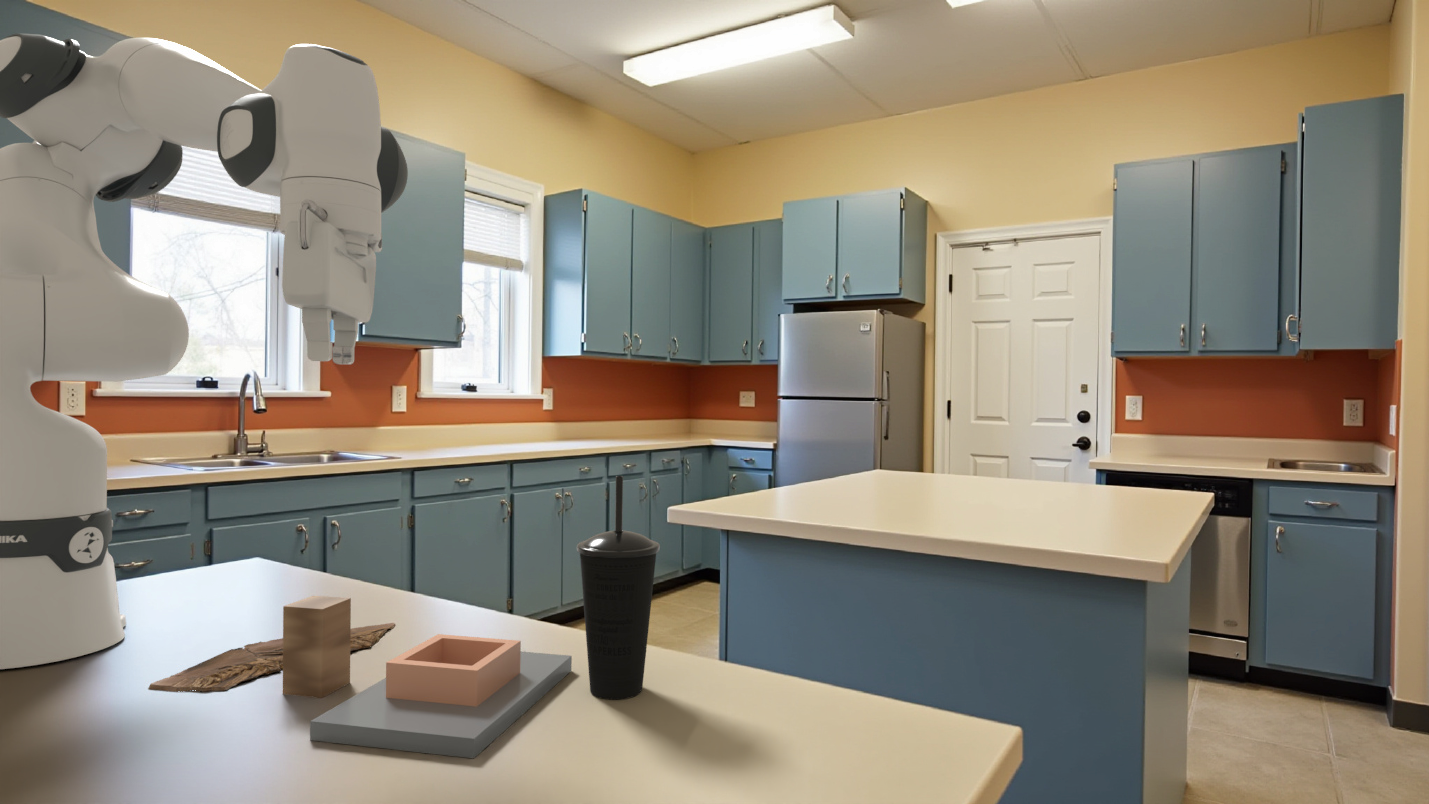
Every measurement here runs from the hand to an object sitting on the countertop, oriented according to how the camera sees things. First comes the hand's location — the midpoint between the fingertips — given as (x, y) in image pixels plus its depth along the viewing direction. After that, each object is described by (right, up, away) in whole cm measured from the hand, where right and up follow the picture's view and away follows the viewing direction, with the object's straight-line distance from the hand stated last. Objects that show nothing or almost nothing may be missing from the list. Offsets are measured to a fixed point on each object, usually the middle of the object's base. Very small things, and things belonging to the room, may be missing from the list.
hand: (332, 362), depth 79 cm
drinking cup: (+28, -31, -3) cm, 42 cm away
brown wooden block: (0, -30, -3) cm, 30 cm away
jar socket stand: (+14, -31, -6) cm, 34 cm away
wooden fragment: (-7, -31, +6) cm, 32 cm away
